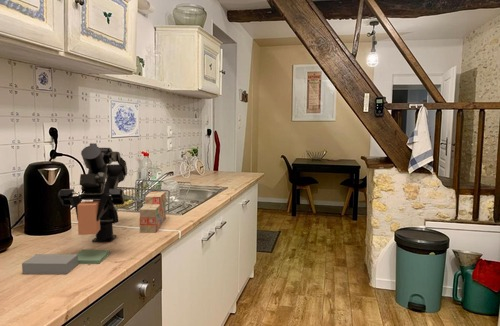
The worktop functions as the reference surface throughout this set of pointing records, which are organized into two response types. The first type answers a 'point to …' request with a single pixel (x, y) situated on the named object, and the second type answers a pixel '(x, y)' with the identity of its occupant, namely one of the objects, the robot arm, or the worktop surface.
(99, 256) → the green mat
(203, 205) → the worktop surface
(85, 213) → the terracotta block
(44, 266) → the slate block
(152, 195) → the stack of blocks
